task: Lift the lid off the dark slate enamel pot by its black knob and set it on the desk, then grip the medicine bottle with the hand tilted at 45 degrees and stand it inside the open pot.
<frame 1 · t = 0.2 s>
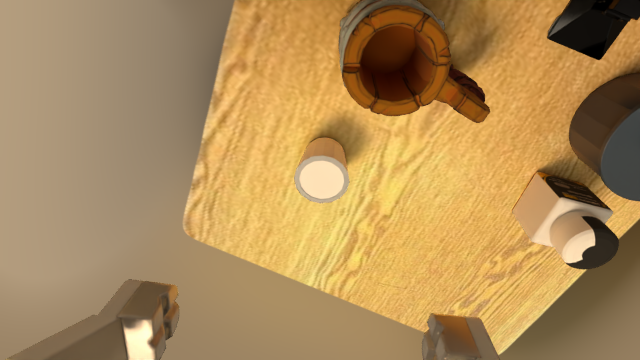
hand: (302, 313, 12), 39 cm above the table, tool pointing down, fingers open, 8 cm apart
mug: (402, 50, 45), on the table
medicine bottle: (545, 196, 54), on the table
enamel pot: (622, 122, 47), on the table
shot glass: (324, 155, 53), on the table
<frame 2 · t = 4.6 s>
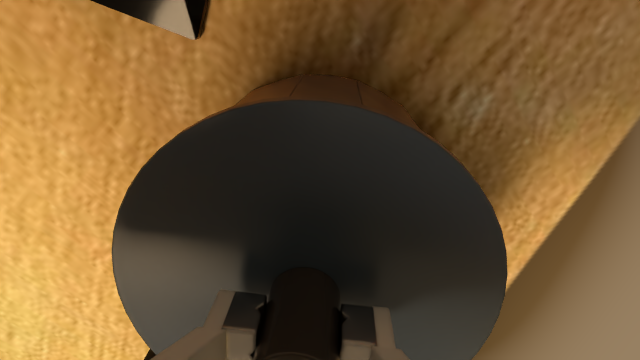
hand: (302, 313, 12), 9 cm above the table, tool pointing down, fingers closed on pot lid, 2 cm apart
enamel pot: (318, 192, 20), on the table
pot lid: (306, 283, 13), point 8 cm above the table, touching enamel pot, gripper
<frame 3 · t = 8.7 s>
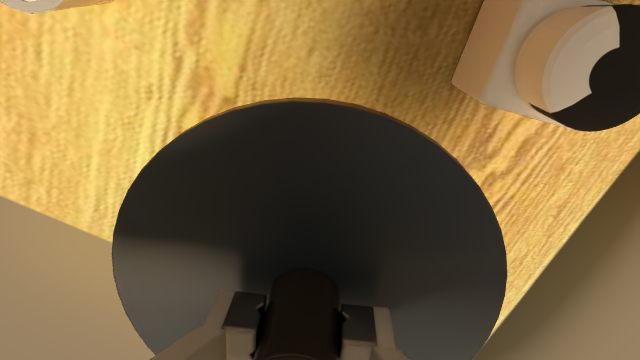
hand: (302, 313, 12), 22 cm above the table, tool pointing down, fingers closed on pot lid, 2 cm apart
medicine bottle: (510, 50, 29), on the table
pot lid: (306, 284, 13), point 20 cm above the table, touching gripper
when the fingers open (2 cm above the table, at t = 13.0 s): pot lid stays where it is, point 1 cm above the table.
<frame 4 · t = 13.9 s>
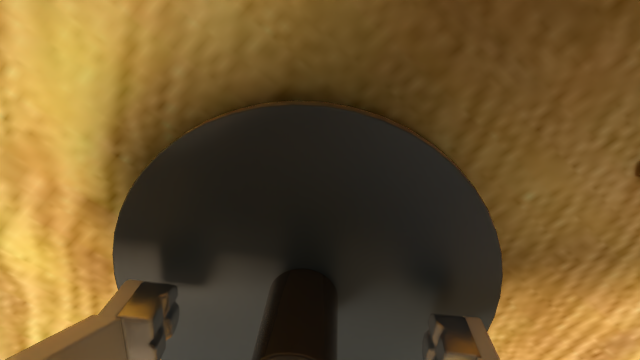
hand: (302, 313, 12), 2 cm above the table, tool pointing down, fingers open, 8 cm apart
pot lid: (305, 284, 14), point 1 cm above the table
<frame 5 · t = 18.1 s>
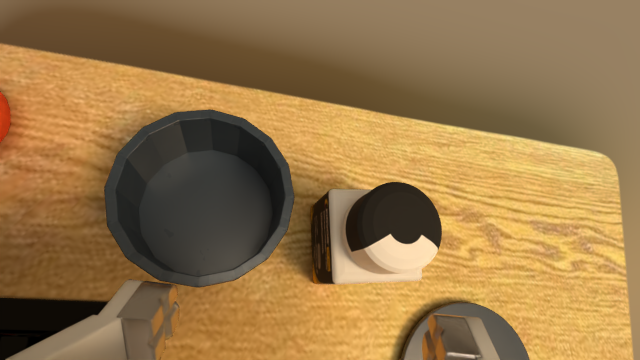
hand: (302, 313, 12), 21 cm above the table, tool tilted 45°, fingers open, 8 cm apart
medicine bottle: (347, 243, 35), on the table
black wedge: (26, 349, 28), on the table
enamel pot: (208, 212, 33), on the table
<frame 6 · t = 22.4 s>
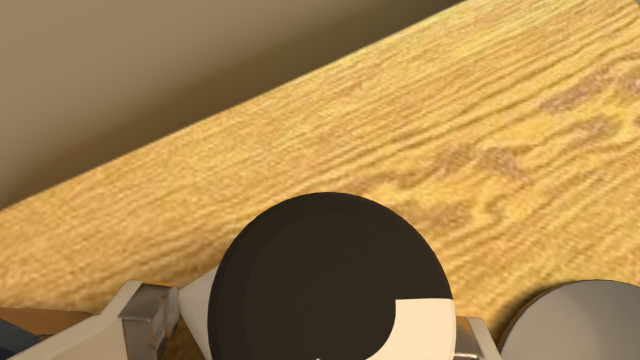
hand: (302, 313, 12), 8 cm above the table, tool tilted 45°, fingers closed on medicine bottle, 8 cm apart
medicine bottle: (299, 332, 19), on the table, touching gripper
when the fingers open (9 cm above the table, at t = 31.6 s): medicine bottle stays where it is, resting on enamel pot.
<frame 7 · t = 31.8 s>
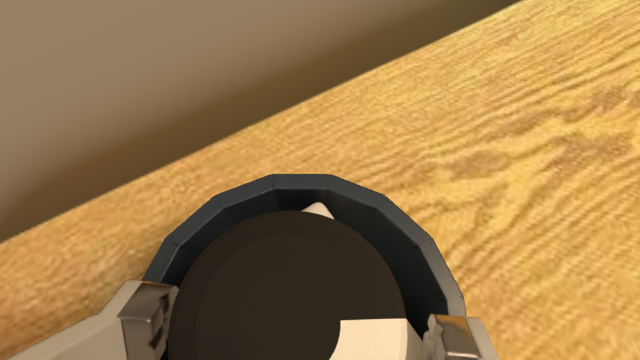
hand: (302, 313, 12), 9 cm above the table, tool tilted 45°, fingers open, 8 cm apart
medicine bottle: (298, 330, 20), resting on enamel pot
enamel pot: (302, 329, 21), on the table
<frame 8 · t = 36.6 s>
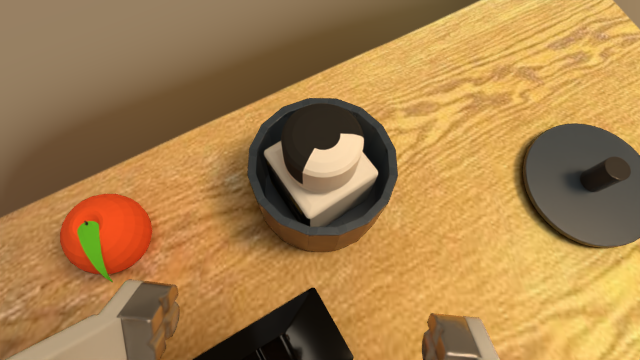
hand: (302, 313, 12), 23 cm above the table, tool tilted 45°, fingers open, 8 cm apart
clementine: (128, 246, 36), on the table
medicine bottle: (318, 190, 38), resting on enamel pot
black wedge: (272, 359, 33), on the table
enamel pot: (320, 191, 38), on the table
pot lid: (587, 183, 39), point 1 cm above the table
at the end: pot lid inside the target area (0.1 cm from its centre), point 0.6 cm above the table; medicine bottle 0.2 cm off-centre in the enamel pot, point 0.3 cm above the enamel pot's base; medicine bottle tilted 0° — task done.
